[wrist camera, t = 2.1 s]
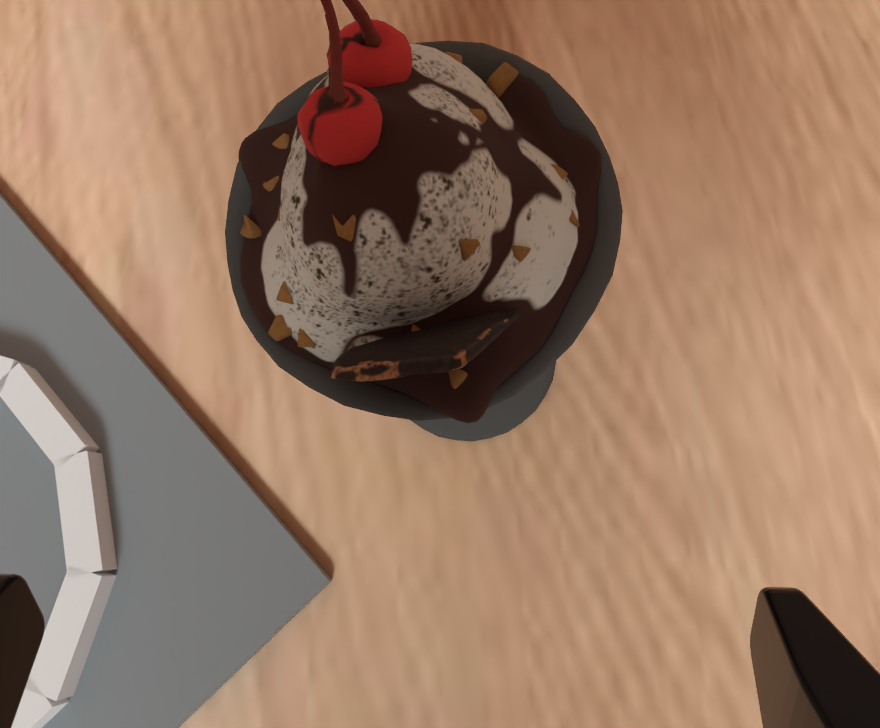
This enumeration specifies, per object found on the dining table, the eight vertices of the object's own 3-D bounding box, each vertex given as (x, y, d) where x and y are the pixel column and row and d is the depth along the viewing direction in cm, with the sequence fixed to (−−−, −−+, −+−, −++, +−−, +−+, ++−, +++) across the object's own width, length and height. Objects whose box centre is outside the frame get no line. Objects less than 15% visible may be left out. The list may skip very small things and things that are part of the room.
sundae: (426, 206, 24) (260, -289, 10) (628, 311, 23) (779, -87, 9) (308, 395, 24) (-61, 157, 9) (511, 516, 22) (455, 462, 8)
